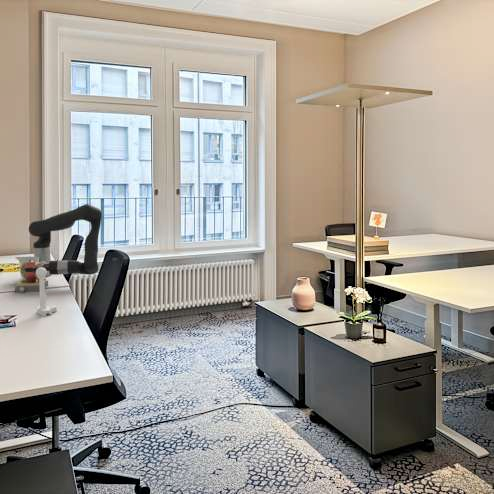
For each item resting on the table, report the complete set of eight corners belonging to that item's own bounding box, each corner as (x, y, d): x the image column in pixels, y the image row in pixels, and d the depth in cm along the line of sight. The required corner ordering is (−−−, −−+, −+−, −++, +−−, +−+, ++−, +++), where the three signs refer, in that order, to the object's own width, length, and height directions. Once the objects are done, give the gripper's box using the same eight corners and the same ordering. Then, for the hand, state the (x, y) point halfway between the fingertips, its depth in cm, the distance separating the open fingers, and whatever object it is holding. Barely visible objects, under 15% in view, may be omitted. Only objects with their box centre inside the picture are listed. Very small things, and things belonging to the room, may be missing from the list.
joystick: (35, 311, 225) (33, 266, 222) (53, 308, 229) (51, 264, 226) (40, 316, 216) (37, 269, 213) (59, 314, 220) (56, 267, 217)
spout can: (27, 282, 274) (25, 254, 272) (38, 282, 275) (37, 254, 273) (25, 284, 268) (23, 256, 266) (36, 284, 269) (34, 256, 267)
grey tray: (21, 287, 277) (20, 279, 276) (48, 285, 280) (47, 278, 279) (13, 293, 261) (12, 285, 261) (42, 292, 264) (42, 284, 264)
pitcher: (45, 282, 290) (43, 258, 289) (12, 282, 289) (11, 258, 288) (51, 278, 301) (50, 255, 300) (20, 279, 300) (18, 255, 299)
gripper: (61, 258, 280) (29, 259, 277) (56, 262, 266) (23, 263, 263) (61, 272, 281) (30, 273, 278) (57, 276, 267) (24, 278, 264)
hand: (27, 268), depth 270 cm, fingers open, 8 cm apart
